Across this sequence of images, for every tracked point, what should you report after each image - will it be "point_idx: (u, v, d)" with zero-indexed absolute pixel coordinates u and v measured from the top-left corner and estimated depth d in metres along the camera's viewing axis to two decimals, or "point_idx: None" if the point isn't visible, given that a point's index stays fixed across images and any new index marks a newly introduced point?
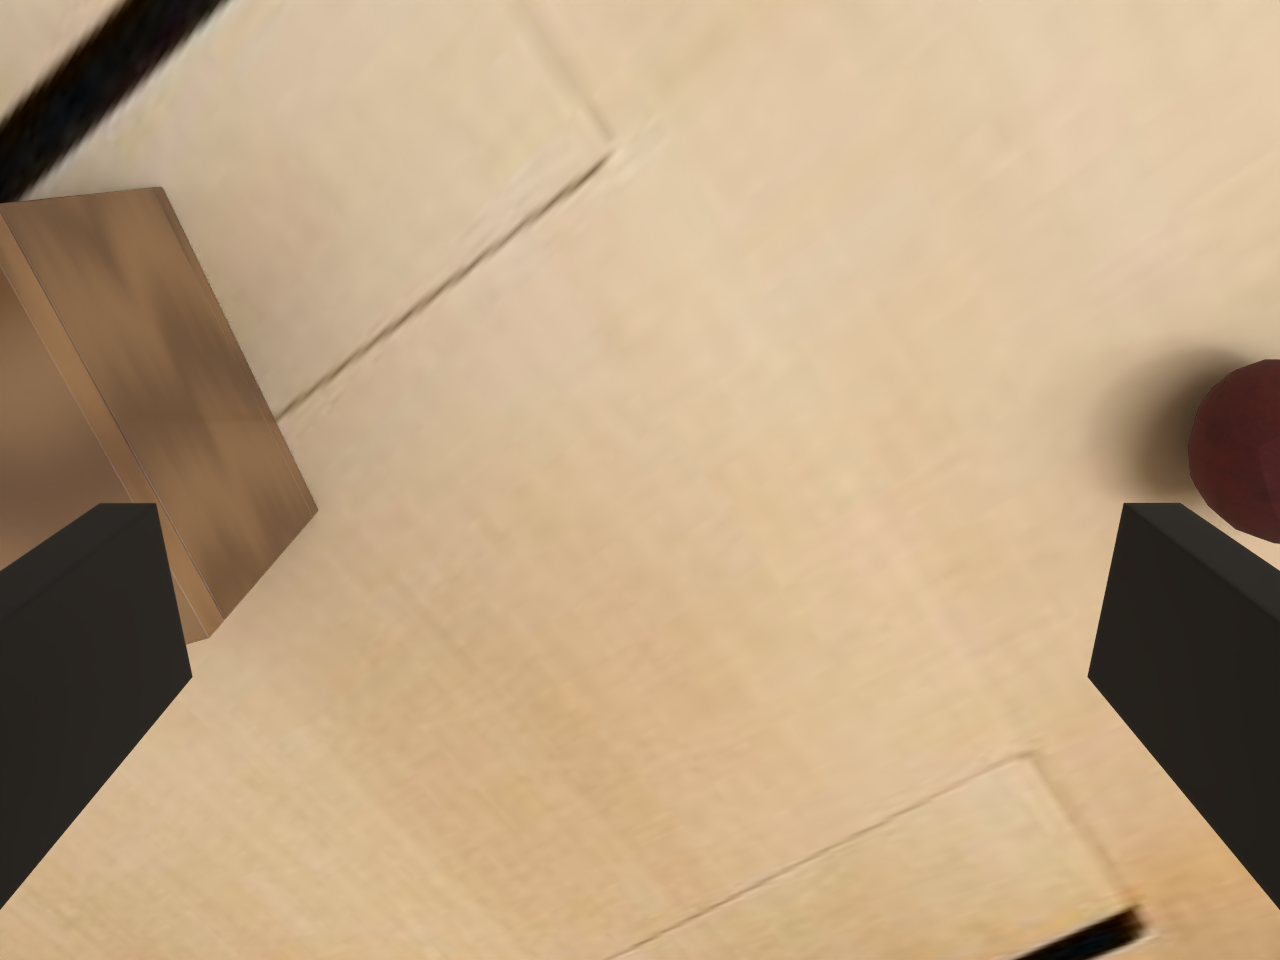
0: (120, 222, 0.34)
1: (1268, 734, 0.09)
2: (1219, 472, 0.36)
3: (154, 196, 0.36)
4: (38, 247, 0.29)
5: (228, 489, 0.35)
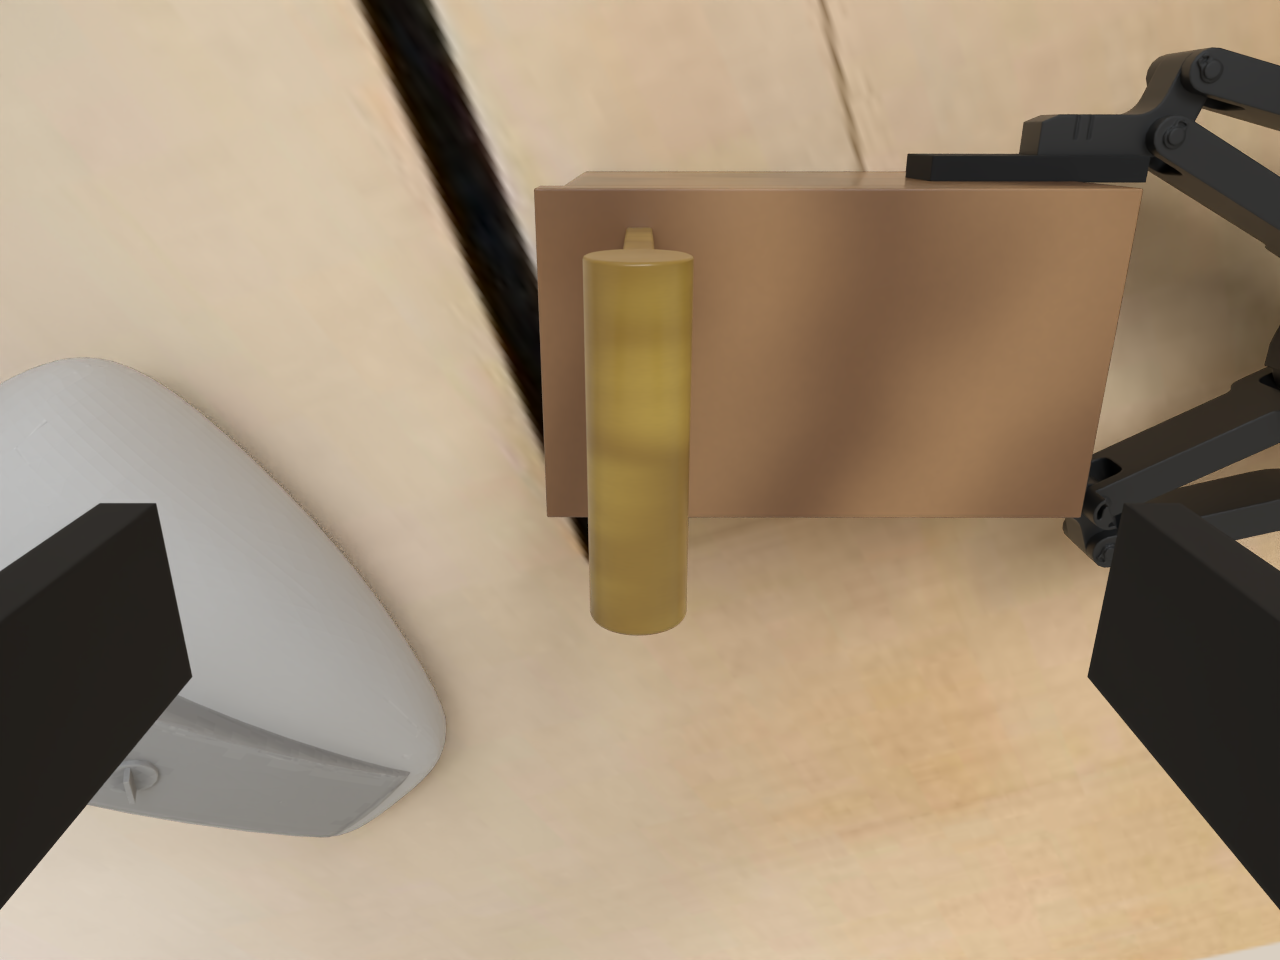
0: (611, 176, 0.30)
1: (1268, 734, 0.09)
2: None
3: (593, 172, 0.33)
4: (617, 184, 0.25)
5: None
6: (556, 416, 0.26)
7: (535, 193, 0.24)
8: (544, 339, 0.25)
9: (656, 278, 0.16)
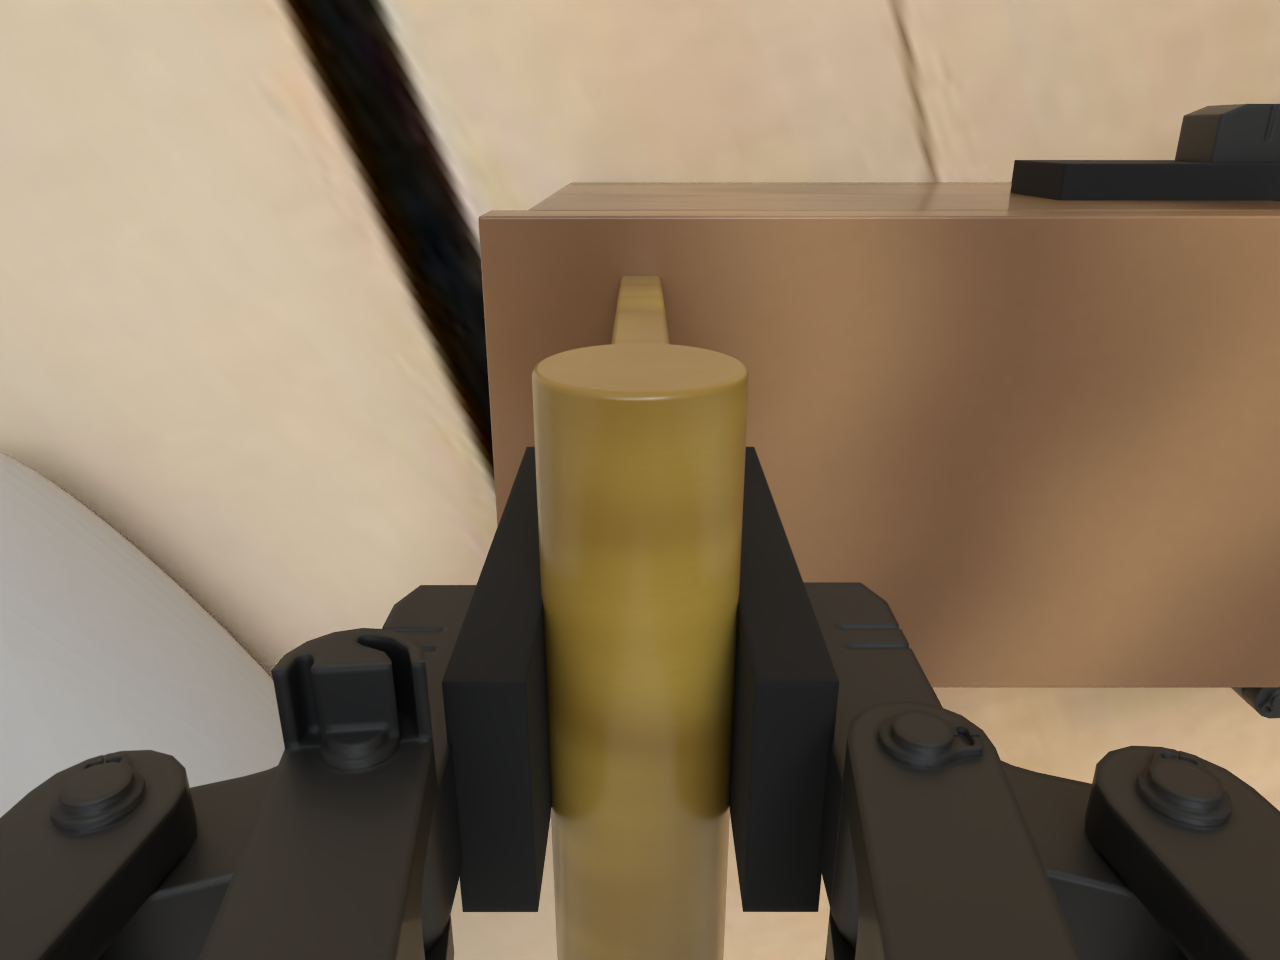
0: (602, 190, 0.22)
1: None
2: None
3: (579, 184, 0.25)
4: (608, 206, 0.17)
5: None
6: None
7: (480, 223, 0.15)
8: (498, 440, 0.17)
9: (677, 423, 0.08)
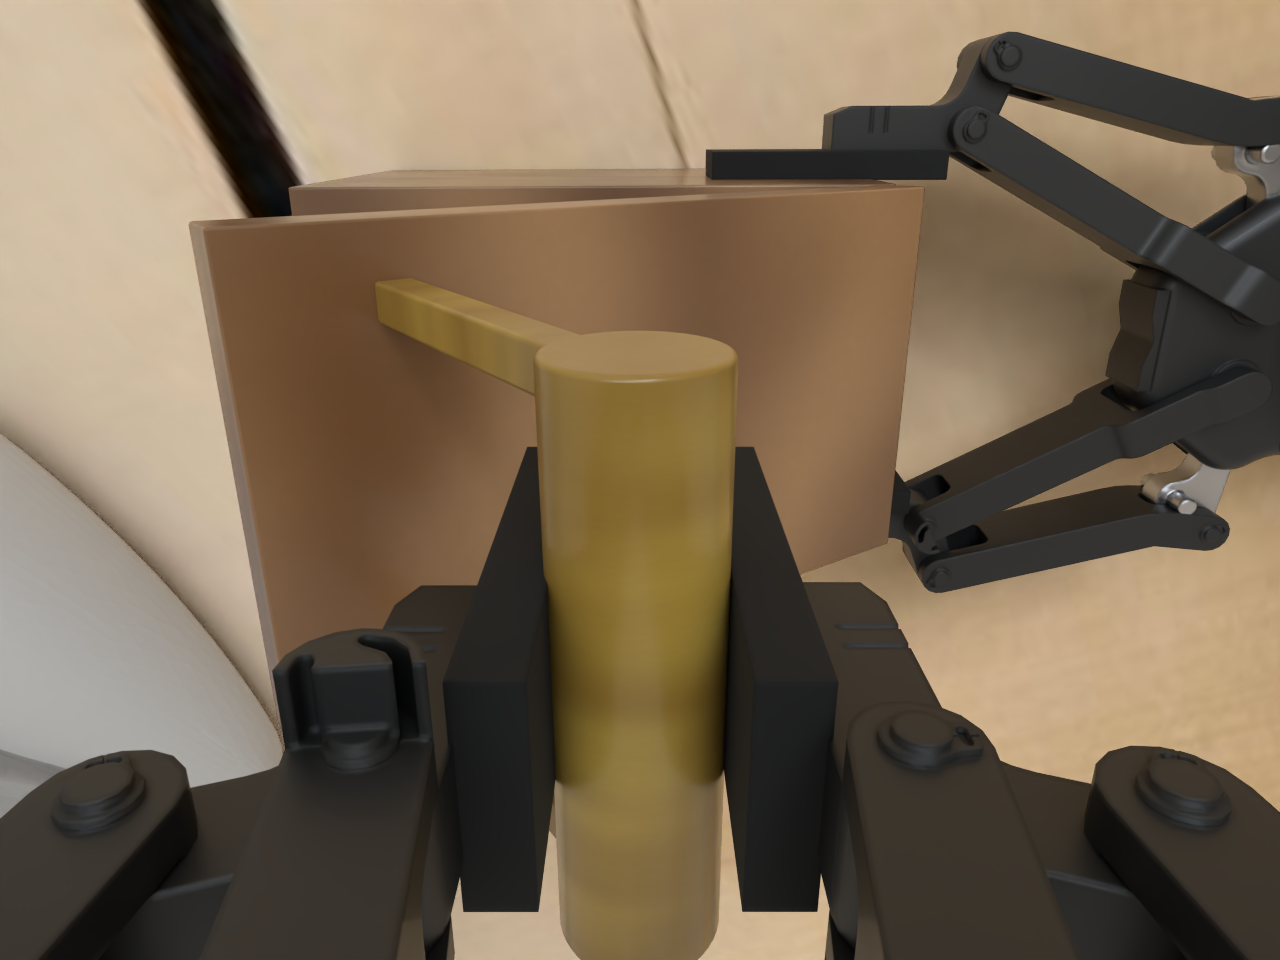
0: (392, 175, 0.28)
1: None
2: None
3: (394, 171, 0.31)
4: (355, 185, 0.23)
5: None
6: (292, 598, 0.16)
7: (206, 236, 0.13)
8: (256, 481, 0.15)
9: (719, 394, 0.09)
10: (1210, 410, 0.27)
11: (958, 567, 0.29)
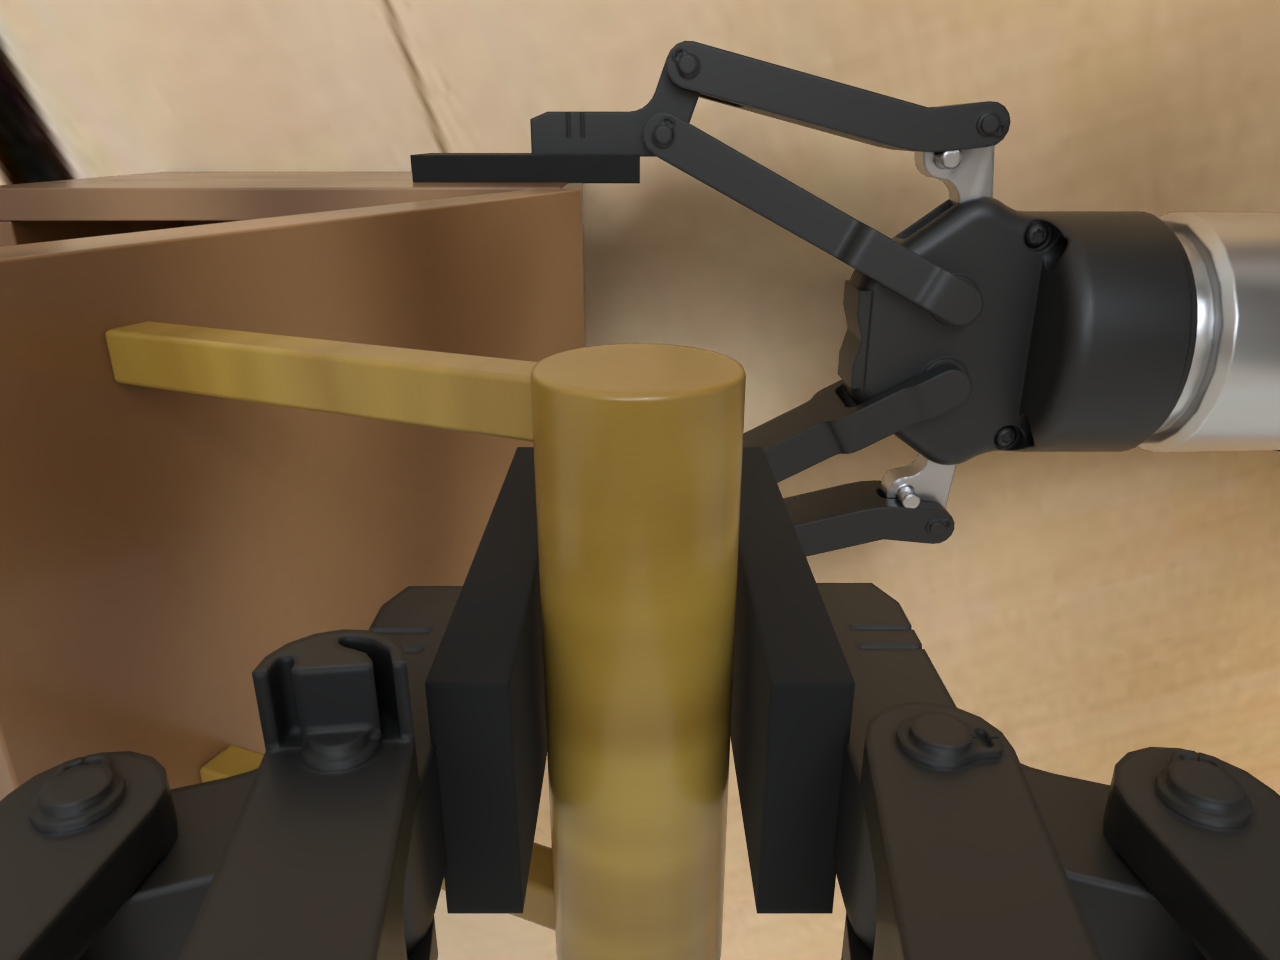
0: (133, 177, 0.29)
1: None
2: None
3: (159, 173, 0.32)
4: (45, 186, 0.24)
5: None
6: None
7: None
8: None
9: None
10: (915, 407, 0.28)
11: None
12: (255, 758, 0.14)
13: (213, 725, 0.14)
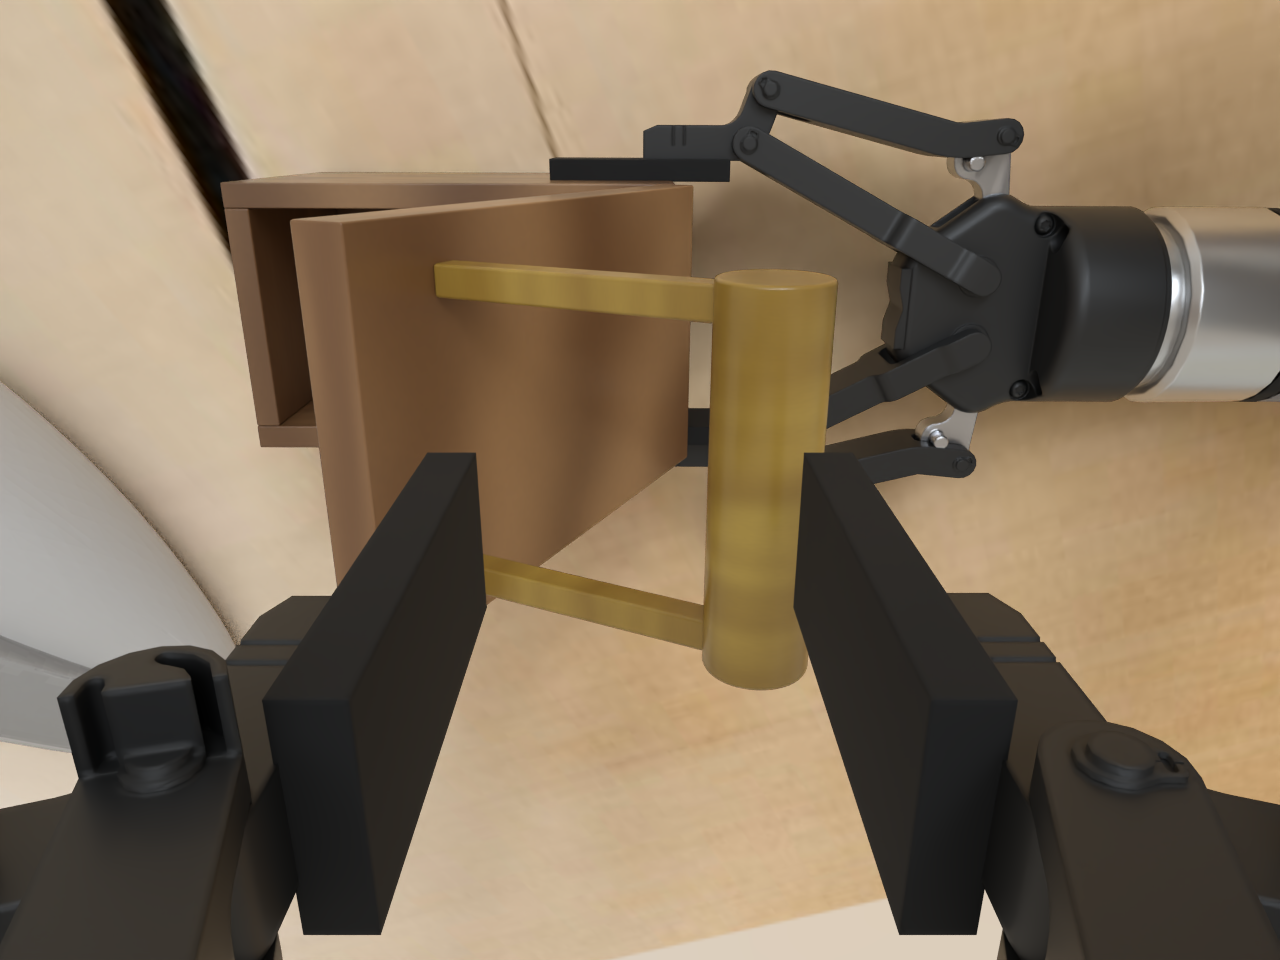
0: None
1: (844, 632, 0.11)
2: None
3: None
4: (272, 181, 0.31)
5: None
6: None
7: (342, 229, 0.16)
8: (370, 435, 0.17)
9: None
10: (946, 363, 0.35)
11: None
12: (491, 558, 0.21)
13: None
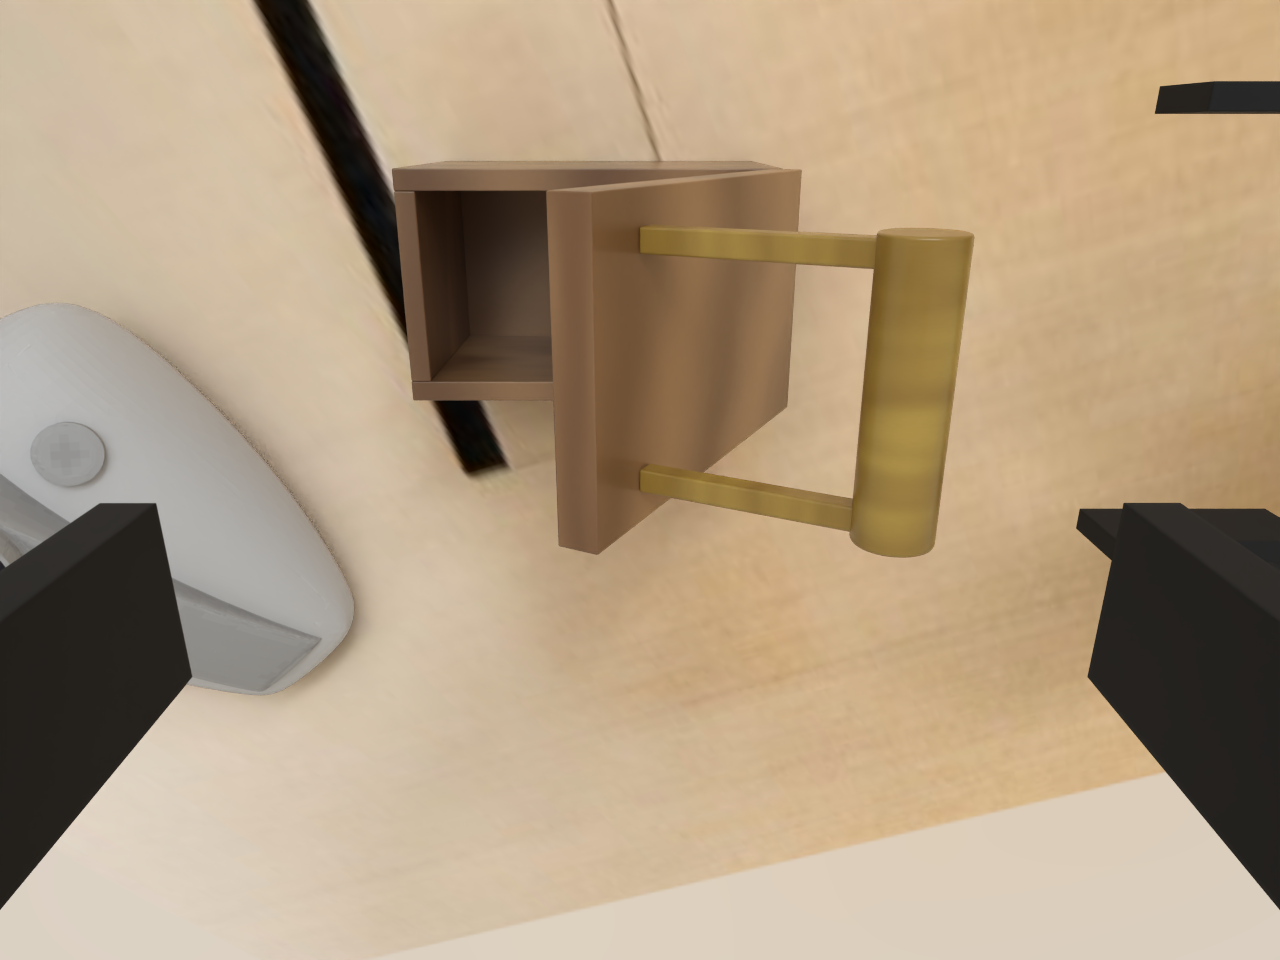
0: None
1: (1268, 734, 0.09)
2: None
3: None
4: None
5: (685, 165, 0.39)
6: (603, 441, 0.23)
7: (591, 197, 0.21)
8: (598, 358, 0.22)
9: None
10: None
11: None
12: (666, 467, 0.26)
13: (645, 449, 0.26)
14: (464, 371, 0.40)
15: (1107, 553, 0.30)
